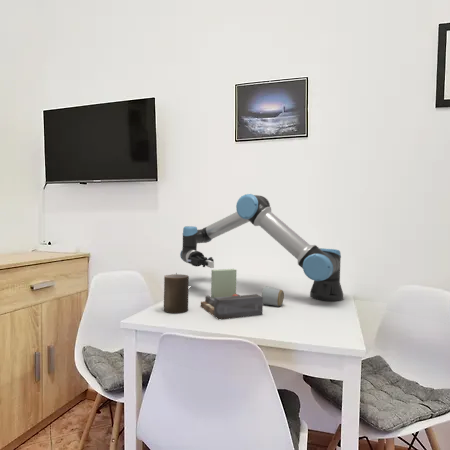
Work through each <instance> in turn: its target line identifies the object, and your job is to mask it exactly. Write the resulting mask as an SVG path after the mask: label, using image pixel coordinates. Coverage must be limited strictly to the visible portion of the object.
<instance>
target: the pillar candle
mask: <svg viewBox="0 0 450 450" xmlns="http://www.w3.org/2000/svg"><path fill="white" fill-rule="evenodd" d="M189 277H190V276H189V275H188V274H181V273H180V274H179V273H177V272H176V273H175V274H166V275H164V278H163V280H164V281H163V311H164V312H166V313H169V314H183V313H186V312H188V311H189V280H190V279H189Z"/></svg>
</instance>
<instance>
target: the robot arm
mask: <svg viewBox="0 0 450 450" xmlns="http://www.w3.org/2000/svg"><path fill="white" fill-rule="evenodd" d="M235 207H236V211H235V212H233V213H232V214H231V213H230V215H227V216H225V217H223V218H222V219H220V220H217V221H214V222H213V223H211V224H208V226H205V227H203V228H201V229H198V227H197V226H192V225H191V226H190V225H189V226H188V225H187V226H184V227H183V229H182V231H183V232H182V248H181V249H182V250H180V253H179V257H180V259H181V260H182V261H183V262H184V263H187V264H189V265H191V266H192V267H193V266H194V267H200V266H202V268H206V267H207V268H210V269H214V268H215V262H214V258H213V257H212V256H210V257H207V256H204V253H203V252H201V251H198V250H197V248H198V246H197V245H198V244H207V243H209V242H212V240H213V239H215V238H217V237H219V236H221V235H223V234H225V233H227V232H230V231H232V230H235V229H236V228H238V227H240V226H243V225H245V224H247V223H249V222H250V224H252V225H253V226H254V227H260V228H261V229H263V230H264V231H265V232H266V233H267V234H268V235H269V236H270V237H271V238H272V239H274V240H275V241H276V242H277V243H278V244H279V245H280V246H281V247H282V248H284V249H285V250H286V251H288V253H290V254H291V255H292V256H293V257H294V258H295V259H296V260H297V265H298V266H299V267H300V268H301V269H302V270H303V273H304V275H305V277H307V278H308V279H309V280H312V281H313V283H312V286H311V289H310V292H309V296H310V298H311V299H314V300H318V301H325V302H326V301H327V302H339V301H343V300H344V292H343V287H342V284H341V258H342V256H341V251H340V250H339V249H334V248H320V247H319V246H318V245H316V244H310V243H308V242H307V240H305V239H304V238H303V237H301V236H300V235H299V234H298V233H297V232H295V231H294V230H293V229H292V228H291V227H289V226H288V225H287V224H286V223H285V222H284V221H283V220H282V219H280V218H279V217H278V216H277V215H275V214H274V213H273V212H272V207H271V204H270V202H269V200H268V198H267V197H265V196H263V195H258V194H252V193H247V194H244V195H241V196H240V197H239V198H238V199H237V202H236V206H235Z"/></svg>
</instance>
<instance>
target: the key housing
mask: <svg viewBox="0 0 450 450" xmlns="http://www.w3.org/2000/svg"><path fill="white" fill-rule="evenodd" d="M204 299H205V300H204V301H203V300H202V301H200V308H202V309H203V308H204V310H205V311H206V310H207V311H206V312H208V313H209V312H210V313H211V314H210V313H209V314H210V315H212V314H213V315H214V316H213V315H212V316H213V317H215V318H216V317H217V318H218V319H217V318H216V319H217V320H219V319H221V320H227V319H228V320H229V318H230V319H238V318H248V317H257V316H263V309H264V307H263V305H264V304H263V297H262V296H261V294H260V295H259V294H257V293H255V294H242V295H240V294H239V293H236V294H233V295H232V296H228V297H215V298H214V299H213V298H212V297H211V295H208V294H207V295H205V298H204Z"/></svg>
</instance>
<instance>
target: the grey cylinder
mask: <svg viewBox="0 0 450 450" xmlns="http://www.w3.org/2000/svg"><path fill="white" fill-rule="evenodd" d="M260 296H262V297H263V305H267V306H274V307H280V306H282V304H283V303H284V298H285V293H284V290H283V289H280V288H277V287H271V286H263V288H262V291H261V294H260Z"/></svg>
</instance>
